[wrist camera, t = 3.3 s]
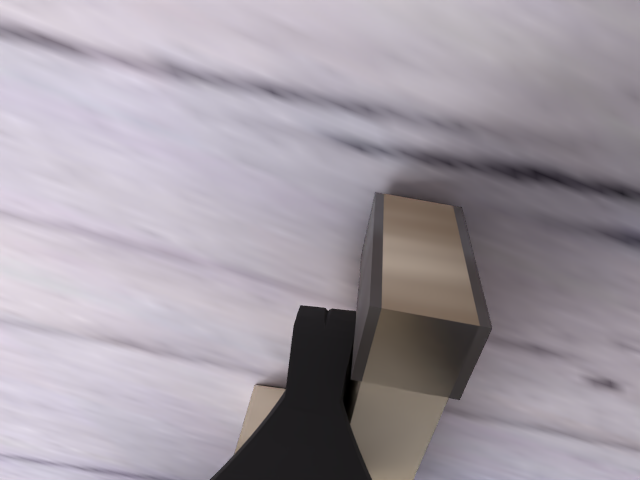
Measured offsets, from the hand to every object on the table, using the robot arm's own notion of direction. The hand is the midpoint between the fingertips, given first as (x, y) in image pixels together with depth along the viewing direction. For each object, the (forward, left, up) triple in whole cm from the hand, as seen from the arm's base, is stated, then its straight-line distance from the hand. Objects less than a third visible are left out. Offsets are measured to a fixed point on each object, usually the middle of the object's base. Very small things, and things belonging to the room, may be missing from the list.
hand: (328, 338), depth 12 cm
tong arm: (-3, -1, -1) cm, 3 cm away
